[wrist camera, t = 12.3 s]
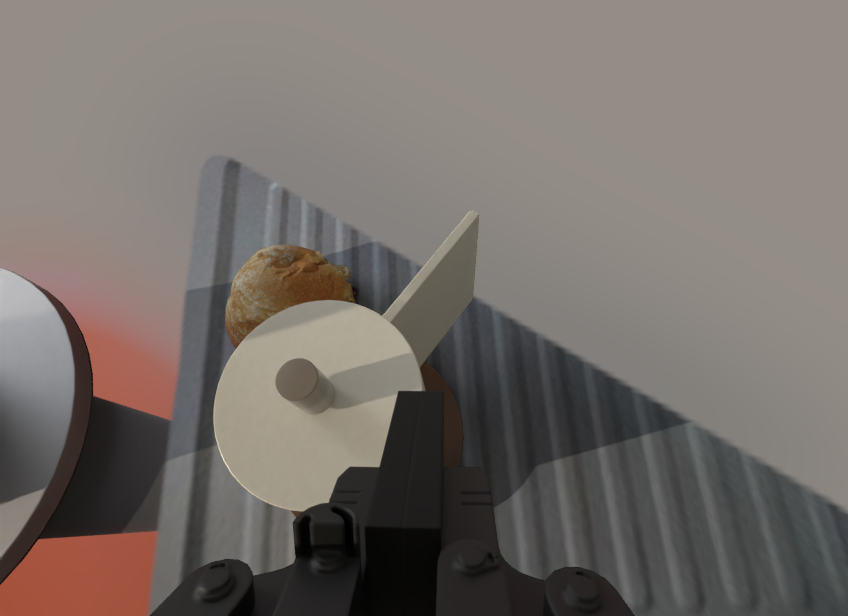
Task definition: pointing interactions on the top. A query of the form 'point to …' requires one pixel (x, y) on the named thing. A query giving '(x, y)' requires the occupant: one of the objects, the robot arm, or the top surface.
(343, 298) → the bread roll
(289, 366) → the towel holder
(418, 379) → the paper towel roll
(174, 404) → the top surface
